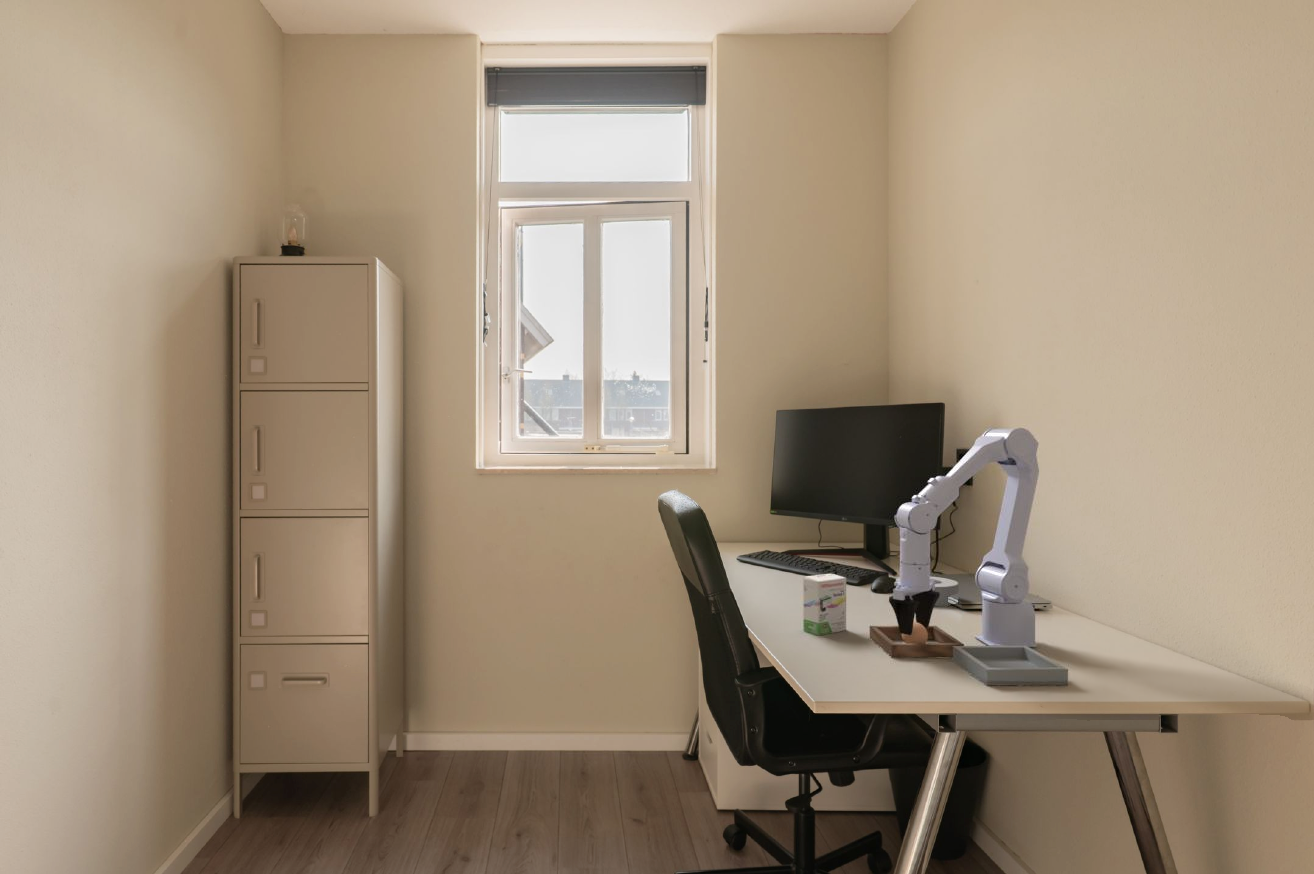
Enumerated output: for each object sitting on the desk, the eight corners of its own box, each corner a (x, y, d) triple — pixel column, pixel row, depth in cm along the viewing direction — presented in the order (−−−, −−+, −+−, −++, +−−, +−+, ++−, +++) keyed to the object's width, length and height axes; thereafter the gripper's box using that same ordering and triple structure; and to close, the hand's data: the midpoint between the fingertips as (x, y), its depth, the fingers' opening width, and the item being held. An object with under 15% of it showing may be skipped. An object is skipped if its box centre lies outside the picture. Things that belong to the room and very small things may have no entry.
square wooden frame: (935, 637, 158) (935, 625, 158) (964, 657, 144) (964, 644, 144) (869, 637, 157) (869, 625, 157) (891, 657, 143) (891, 644, 143)
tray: (1026, 660, 142) (1026, 645, 142) (1067, 685, 128) (1068, 669, 128) (952, 660, 142) (952, 645, 142) (986, 685, 128) (986, 669, 128)
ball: (922, 643, 153) (922, 619, 153) (931, 650, 148) (931, 625, 148) (898, 643, 153) (898, 619, 153) (906, 650, 148) (906, 625, 148)
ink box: (818, 635, 159) (818, 580, 159) (802, 630, 163) (802, 576, 163) (847, 630, 163) (847, 576, 163) (831, 625, 168) (831, 572, 168)
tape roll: (886, 594, 200) (886, 575, 200) (940, 593, 202) (940, 574, 202) (911, 607, 185) (911, 587, 185) (970, 606, 187) (970, 586, 187)
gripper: (912, 556, 158) (911, 620, 159) (879, 564, 148) (878, 633, 148) (944, 560, 154) (944, 626, 154) (913, 569, 143) (912, 640, 143)
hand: (914, 630), depth 151 cm, fingers open, 7 cm apart
